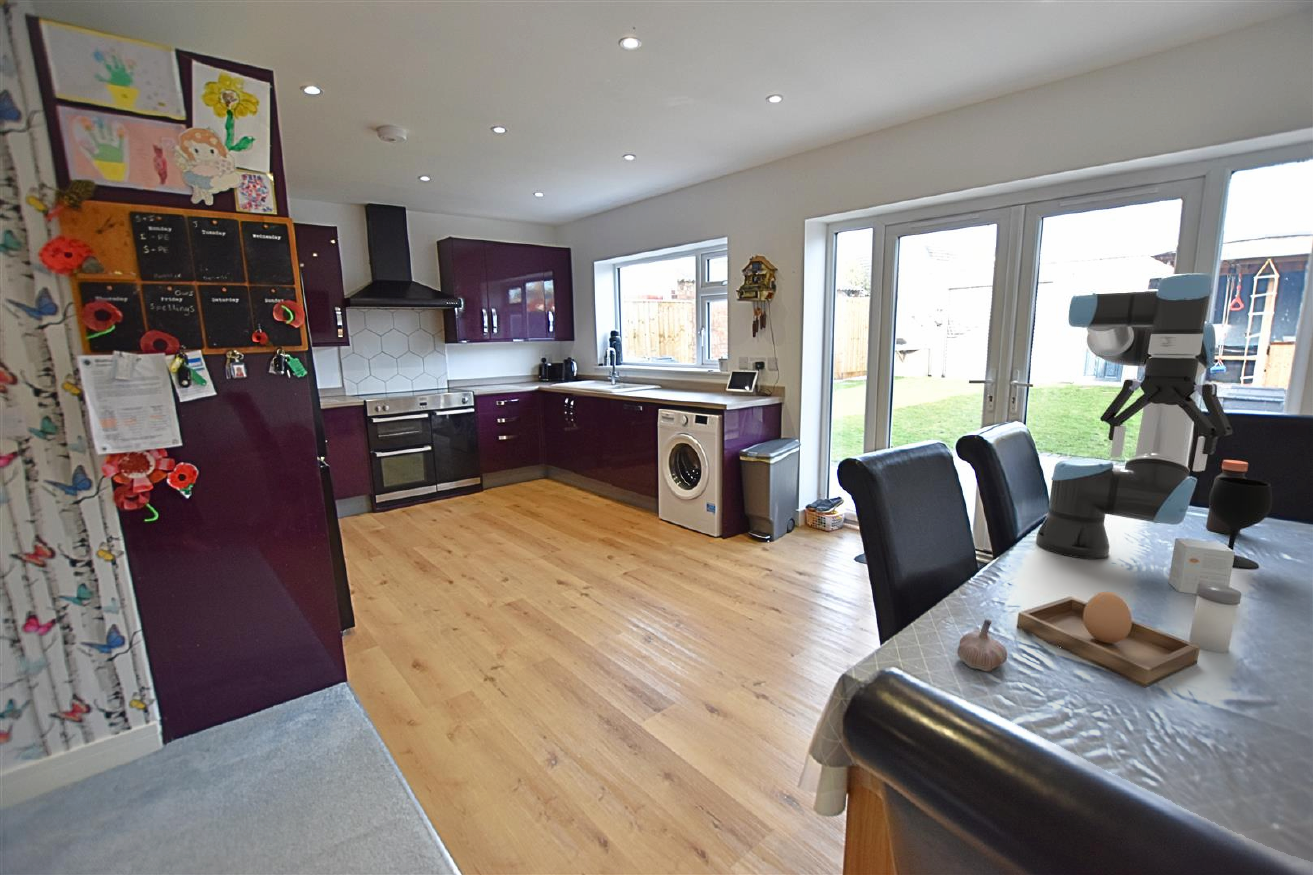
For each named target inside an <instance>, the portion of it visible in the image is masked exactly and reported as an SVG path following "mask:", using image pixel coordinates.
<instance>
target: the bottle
mask: <svg viewBox="0 0 1313 875" xmlns="http://www.w3.org/2000/svg"><path fill="white" fill-rule="evenodd" d="M1248 467H1249V463H1248V462H1247V461H1241V460H1235V459H1234V460H1232V459H1223V460H1222V465H1221V468H1222V469H1221V470H1222V473H1220V474H1219V475H1216V476H1215V478H1214V482H1213V485H1214V484H1215V482H1216V480H1217V479H1218V478H1219V477H1235V478H1244V479H1248V478H1247V477H1246V476H1245V474H1247V472H1248ZM1208 508H1209V509H1208V512H1207V513H1208V514H1207V518H1206V525H1205V527H1206V529H1207V530H1208V531H1211V532H1213V533H1214V532H1215V533H1217V534H1218V533H1219V534H1223V535H1224V534H1225V535H1230V530H1229V528H1228V527H1227V526H1226V525H1224V524H1223V523H1222V522H1221V521H1220V520H1218V519H1217V518H1216V516H1215V515H1214V514H1213V512H1212V511H1211V509H1210V506H1209V507H1208ZM1240 533H1241V530H1239V531H1238V533H1237V535H1239V534H1240Z"/></svg>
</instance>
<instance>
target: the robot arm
mask: <svg viewBox="0 0 1313 875" xmlns="http://www.w3.org/2000/svg"><path fill="white" fill-rule="evenodd" d="M1212 285H1213V277H1212V275H1211V274H1209V273H1204V272H1203V273H1202V272H1201V273H1199V272H1198V273H1179V274H1170V275H1165V276H1163V277H1161V278H1160V280H1159V284H1158V288H1157V289H1144V290H1143V289H1142V290H1121V291H1120V290H1118V291H1116V290H1115V291H1113V290H1112V291H1089V292H1080V293H1076V294H1074V295H1073V296H1072V297H1071V300H1070V303H1069V310H1068V324H1069V325H1070V327H1074V328H1082V329H1085V328H1086V330H1087V337H1086V344H1087V347H1088V348H1089V350H1090V351H1091V353H1093V355H1095V356H1097V357H1098V358H1100V359H1102V360H1104V361H1107V362H1110V363H1112V364H1117V365H1122V366H1126V367H1127V366H1130V367H1133V366H1134V367H1142V372H1143V374H1144V377H1143V379H1142V380H1137V379H1136V378H1129V379H1125V380H1124V381H1123V384H1122V387H1121V388H1122V389H1121V390H1120V391H1119V392H1118V393H1117V395H1116V397H1115V398H1114V399H1113V400H1112V402H1111V403H1110V405H1109V406H1108V407H1107V408H1106V410H1105V411H1104V412H1103V414H1102V415H1101V416H1100V421H1101V422H1105V424H1106V423H1107V424H1108V425H1109V432H1108V441H1112V444H1111V451H1110V456H1109V457H1111V458H1120V457H1122V455H1123V449H1124V444H1125V436H1126V430H1127V425H1124V423H1125V422H1126V421H1128V420H1129V419H1130V418H1132V417H1133V416H1134V415H1136V414H1137V413H1138V412H1140V411H1141V410H1142V415H1141V419H1140V425H1139V432H1138V436H1137V437H1138V438H1137V444H1136V449H1135V454H1134V457H1133V458H1130V459H1129V460H1127V461H1126V462H1125V464H1124V468H1119V467H1114V466H1115V464H1113V461H1111V460H1108V459H1101V458H1072V459H1071V458H1069V459H1064V460H1060V461H1058V462H1057V463H1055V465H1054V469H1053V473H1052V477H1051V486H1050V487H1051V489H1050V496H1049V501H1048V502H1049V503H1048V509H1047V510H1048V512H1047V515H1046V517H1045V518H1044V520H1043V522H1042V524H1041V526H1040V528H1039V529H1038V531H1037V533H1036V539H1035V543H1036V544H1037V545H1038V546H1039V547H1041V548H1043V549H1045V550H1047V551H1051V552H1054V553H1056V554H1060V555H1064V556H1069V557H1073V558H1080V559H1081V558H1082V559H1103V558H1106V557H1108V556H1109V552H1110V543H1109V538H1108V536H1107V534H1108V533H1107V531H1106V527H1105V519H1106V515H1110V516H1117V517H1122V518H1126V519H1134V520H1139V521H1144V522H1145V521H1146V522H1151V523H1154V524H1166V525H1174V526H1175V525H1176V526H1177V525H1179V524H1181V523H1182V522H1184V519H1185V517H1186V514H1187V512H1188V508H1189V505H1190V503H1191V500H1192V497H1193V494H1194V492H1195V488H1196V486H1197V483H1198V479H1197V477H1194V476H1190V471H1191V470H1190V468H1189V467H1188V466H1187V465H1185V463H1183V460H1184V453H1185V445H1186V440H1187V439H1186V438H1187V434H1188V433H1187V432H1188V426H1189V421H1190V420H1191V421H1192V422H1193V423H1194V425H1195V426H1196V427H1197V428H1198V430H1200V432H1201V433H1202V435H1203V436H1198V438H1197V442H1196V449H1195V456H1194V461H1193V465H1192V471H1193V472H1202V471H1205V470H1206V466H1207V460H1208V455H1209V456H1211V455H1214V454H1215V452H1216V449H1217V448H1216V447H1217V442H1218V438H1219V437H1224V436H1229V435H1232V434H1233V432H1234V430H1233V428H1232V426H1231V424H1230V422H1229V419H1228V417H1227V415H1226V413H1225V411H1224V408H1223V406H1222V404H1221V402H1220V399H1219V397H1218V385H1217V384H1216V383H1205V384H1197V383H1196V379H1197V378H1199V377H1201V376H1202V375H1204V373H1205V370H1206V369H1209V368H1210V369H1211V368H1212V367H1214V364H1215V360H1216V359H1215V358H1216V346H1217V345H1216V344H1217V343H1216V342H1217V341H1216V331H1215V327H1214V324H1212V323H1211V322H1209V321H1206V320H1207V315H1208V311H1209V310H1208V309H1209V303H1210V298H1211V294H1212V292H1213V288H1212V287H1213V286H1212ZM1139 388H1140V389H1141V391H1142V392H1143V394H1141V395H1140V396H1139V397H1138V398H1136V399H1135V401H1134V402H1132V403H1131V404H1130V405H1128V407H1126V408H1125V409H1124V410H1123V411H1121V409H1122V408H1123V407H1124V406H1125V404H1126V403H1127V401H1129V399H1130V398H1131V397H1132V395H1133V394H1134V393H1135V391H1138V390H1139ZM1195 392H1197V393H1198V395H1199V396H1201V397H1202V398H1201V399H1202V401H1203V403H1204V406H1205V408H1206V410H1207V412H1208V414H1209V417H1210V419H1211V421H1212V422H1211V421H1210V420H1209V419H1208V418H1207V416H1206V415H1205V414H1204V413H1203V412H1202V410H1201V409H1200V407H1199V406H1197V403H1196V401H1195V400H1194V399H1193V394H1194V393H1195ZM1189 419H1190V420H1189Z"/></svg>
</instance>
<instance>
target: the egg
mask: <svg viewBox="0 0 1313 875" xmlns="http://www.w3.org/2000/svg"><path fill="white" fill-rule="evenodd" d="M1086 603H1087V604H1086V607H1085V609H1084V613H1083V621H1084V625H1085V627H1086V629H1087V631H1088V632H1089V633H1090V634H1091V635H1092V636H1093V637H1094V638H1095V639H1097V640H1099V641H1100V642H1104V643H1116V642H1119V641H1121V640H1123V639H1124V638H1125V637H1126V636H1127V635H1128V634H1129V632H1130V630H1131V625H1132V620H1133V619H1132V613H1131V611H1130V608H1129V606H1128V604H1127V603H1126V601H1125V600H1124V598H1122V597H1120V596H1119V595H1118V594H1116V593H1115V592H1110V591H1104V592H1103V591H1102V592H1100V593H1097V594H1095V595H1094V596H1093V597H1092V598H1090V600H1088V602H1086Z"/></svg>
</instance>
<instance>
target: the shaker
mask: <svg viewBox="0 0 1313 875" xmlns="http://www.w3.org/2000/svg"><path fill="white" fill-rule="evenodd" d="M1195 595H1197V596H1196V600H1195V606H1194V611H1193V616H1192V621H1191V622H1192V623H1191V628H1190V633H1189V638H1188V642H1190V643H1192V644H1195V645H1198V646H1200V649H1203V650H1205V651H1209V652H1212V653H1218V654H1226V653H1229V650H1230V644H1231V641H1232V640H1231V639H1232V636H1233V635H1232V634H1233V630H1234V625H1235V622H1236V621H1235V620H1236V616H1237V610H1238V605H1240V603H1241V600H1242V595H1243V594H1242V592H1241V591H1240V590H1238V589H1235V588H1232V587H1231V586H1229V587H1228V586H1224V585H1220V584H1215V583H1208V582H1201V583H1198V586H1197V592H1196V594H1195Z"/></svg>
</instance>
